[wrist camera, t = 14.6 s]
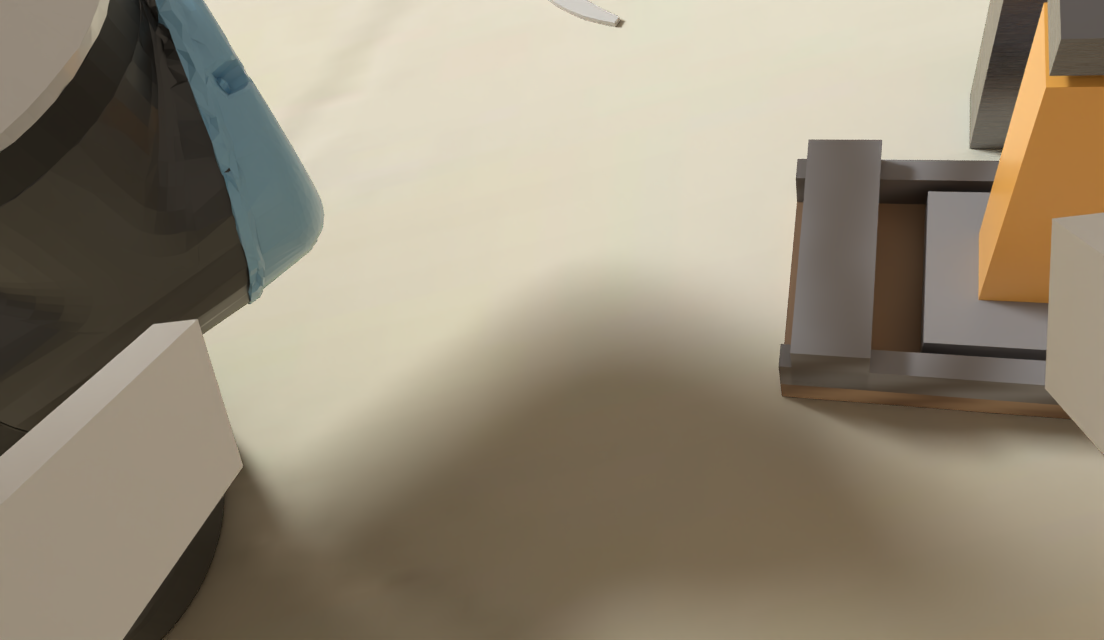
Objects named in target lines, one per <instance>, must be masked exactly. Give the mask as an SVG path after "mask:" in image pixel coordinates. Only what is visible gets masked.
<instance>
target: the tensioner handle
mask: <svg viewBox="0 0 1104 640" xmlns="http://www.w3.org/2000/svg"><path fill="white" fill-rule="evenodd" d="M1103 212H1104V75H1082V76H1049V41H1048V2H1046V3H1044V4H1043V8H1042V11H1041V15H1040V18H1039V22H1038V25H1037V29H1036V33H1035V36H1034V40H1033V43H1032V47H1031V50H1030V54H1029V58H1028V61H1027V65H1026V68H1025V72H1024V75H1023V79H1022V82H1021V86H1020V90H1019V93H1018V97H1017V100H1016V104H1015V107H1014V111H1013V115H1012V118H1011V122H1010V125H1009V129H1008V132H1007V136H1006V139H1005V143H1004V147H1003V150H1002V154H1001V157H1000V161H999V164H998V168H997V171H996V175H995V179H994V182H993V186H992V189H991V193H986V192H932V191H928V196H927V202H926V207H925V223H924V254H923V285H922V317H921V348H920V353H930V354H946V355H962V356H977V357H993V358H1008V359H1024V360H1039V361H1046V351H1047V328H1048V304H1049V281H1050V257H1051V234H1052V218H1061V217H1069V216H1078V215H1086V214H1095V213H1103Z"/></svg>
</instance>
